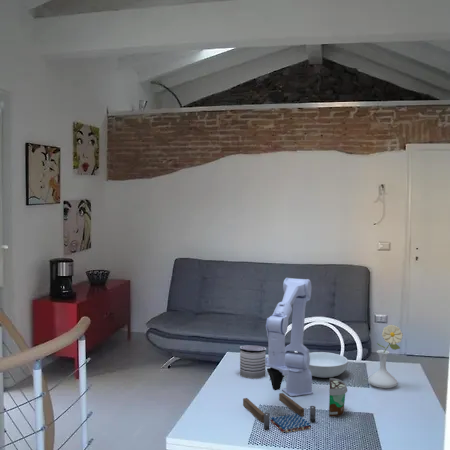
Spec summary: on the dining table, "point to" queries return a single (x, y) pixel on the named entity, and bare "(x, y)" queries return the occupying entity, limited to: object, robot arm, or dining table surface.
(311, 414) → the posts
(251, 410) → the walled channel
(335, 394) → the food container
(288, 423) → the woven mat
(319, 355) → the serving bowl
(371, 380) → the flower in vase
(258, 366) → the can
